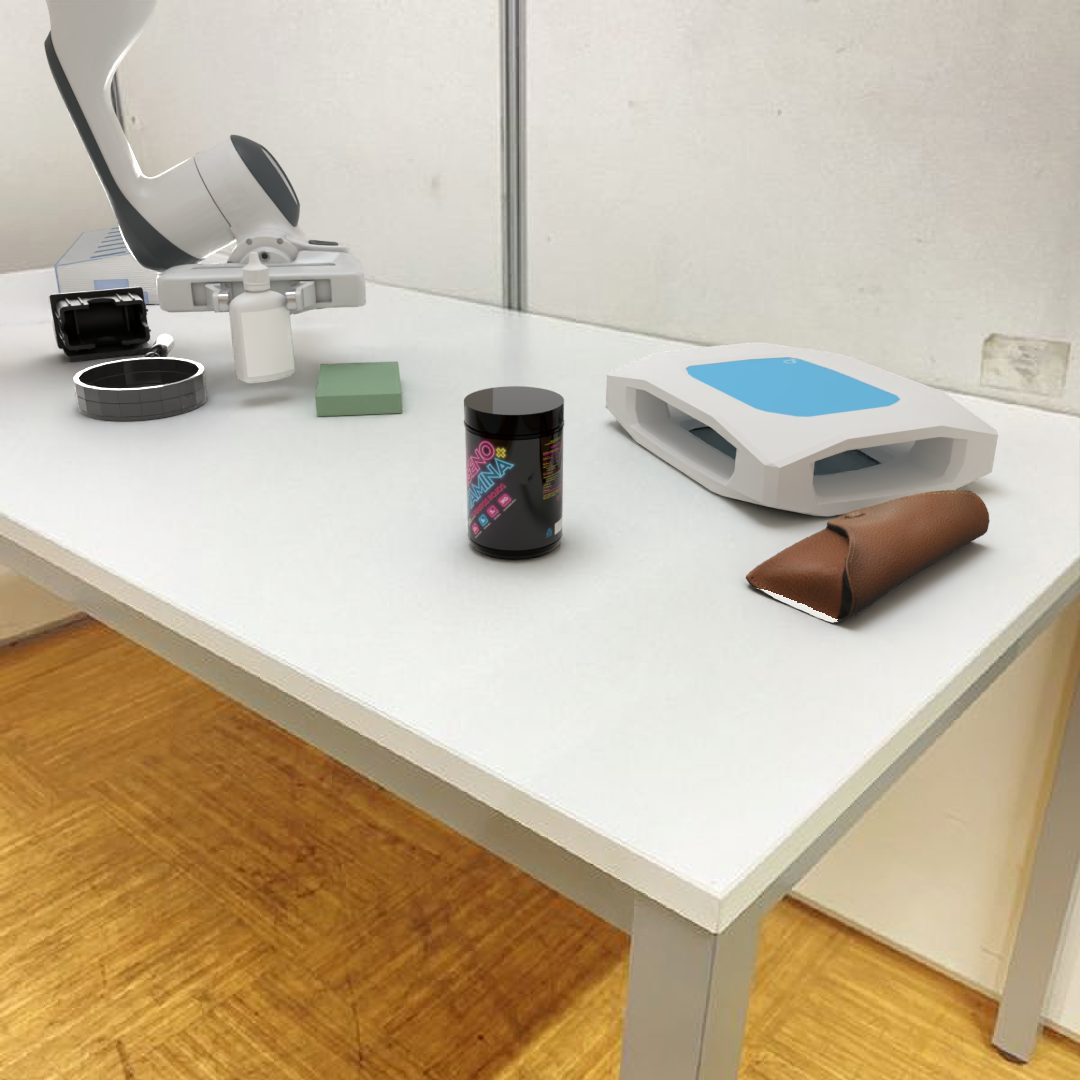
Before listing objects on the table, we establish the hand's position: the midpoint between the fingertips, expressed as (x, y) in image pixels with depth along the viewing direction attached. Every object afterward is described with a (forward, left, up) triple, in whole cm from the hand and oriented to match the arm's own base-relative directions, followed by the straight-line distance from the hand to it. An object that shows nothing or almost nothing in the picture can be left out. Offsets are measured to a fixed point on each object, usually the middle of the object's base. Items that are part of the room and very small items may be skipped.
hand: (258, 302), depth 107 cm
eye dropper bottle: (0, +1, -8) cm, 8 cm away
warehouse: (-25, +64, -10) cm, 69 cm away
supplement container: (+20, -37, -10) cm, 43 cm away
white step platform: (+45, -21, -10) cm, 51 cm away
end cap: (-20, +24, -10) cm, 33 cm away
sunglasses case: (+43, -44, -10) cm, 63 cm away
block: (+9, +1, -10) cm, 13 cm away
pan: (-12, +2, -10) cm, 16 cm away
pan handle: (-12, +13, -8) cm, 20 cm away
